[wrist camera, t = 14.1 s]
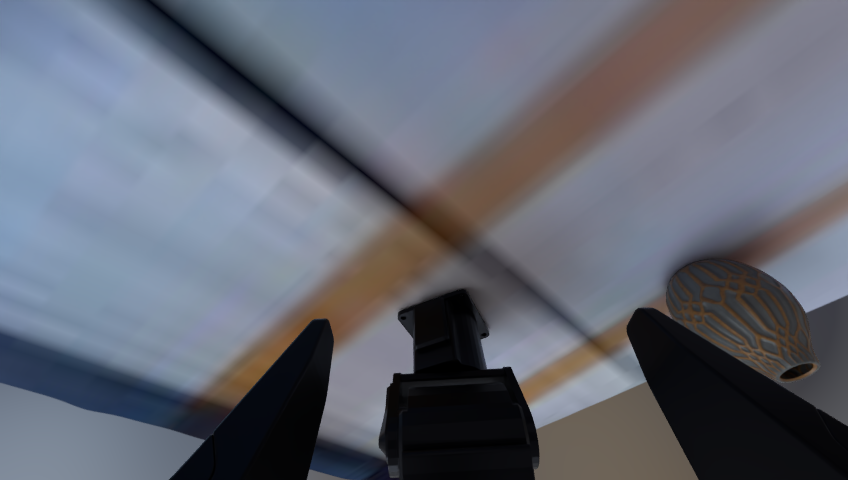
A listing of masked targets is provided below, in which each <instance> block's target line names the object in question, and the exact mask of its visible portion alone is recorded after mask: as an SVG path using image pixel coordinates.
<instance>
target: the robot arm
mask: <svg viewBox="0 0 848 480" xmlns="http://www.w3.org/2000/svg"><path fill="white" fill-rule="evenodd" d="M460 295H463V296H460ZM398 320H399V321H400V322H401V324H402V325H403V326H404V327H405V329H406V330H407V331H408V333H409V334H410V335H411V336H412V338H413V355H414V373H413V374H401V373H394V375H393V383H390V386H389V387H388V388H387V395H386V408H385V414H384V418H383V423H382V427H381V431H380V436H379V448H380V449H381V451H382V452H383V453H384V454H385V455H386V462H387V464H388V469H389V476H390V478H395V477H399V479H400V480H535V477H534V469H537V468H538V466H539V445H538V438H537V433H536V428H535V424H534V421H533V417H532V414H531V412H530V409H529V407H528V405H527V403H526V400H525V398H524V396H523V394H522V391H521V389H520V387H519V385H518V382H517V380H516V378H515V376H514V373H513V371H512V369H511V367H503V368H501V369H487V367H486V362H485V358H484V353H483V349H482V344H481V340H480V339H483V338H486V337H488V336H489V331H488V328H487V327H486V325H485V323H484V321H483V319H482V318H481V316H480V314H479V312H478V310H477V309H476V307H475V305H474V303H473V301H472V300H471V298H470V296H469V294H468V292H467V291H466V290H464V289H461V290H457V291H455V292H452V293H449V294H446V295H444V296H441V297H438V298H435V299H433V300H430V301H427V302H424V303H422V304H419V305H416V306H413V307H411V308H408V309H405V310H402V311H400V312H399V313H398ZM627 335H628V337H629V340H630V342H631V344H632V347H633V349H634V352H635V354H636V356H637V359H638V361H639V364H640V366H641V369H642V371H643V373H644V376H645V378H646V380H647V383H648V385H649V387H650V389H651V390H652V393H653V394H654V396H655V398H656V400H657V402H658V404H659V406H660V408H661V410H662V411H663V413H664V415H665V417H666V419H667V421H668V423H669V425H670V426H671V428H672V430H673V432H674V434H675V436H676V438H677V440H678V441H679V443H680V445H681V447H682V449H683V451H684V453H685V455H686V457H687V458H688V460H689V462H690V464H691V466H692V468H693V470H694V471H695V473H696V475H697V477H698V479H699V480H848V426H846V425H844V424H843V423H841V422H840V421H838V420H836V419H835V418H833V417H832V416H830V415H828V414H827V413H825V412H823V411H822V410H820V409H816V407H814V406H813V405H812V404H810V403H809V402H807V401H805V400H804V399H802V398H800V397H799V396H797V395H795V394H794V393H792V392H790V391H789V390H787V389H786V388H784V387H782V386H781V385H779V384H777V383H776V382H774V381H773V380H771V379H769V378H768V377H766V376H764V375H763V374H761V373H759V372H758V371H756V370H755V369H753V368H751V367H750V366H748V365H746V364H745V363H743V362H741V361H740V360H738V359H737V358H735V357H733V356H732V355H730V354H728V353H727V352H725V351H724V350H722V349H720V348H719V347H717V346H715V345H714V344H712V343H710V342H709V341H707V340H706V339H704V338H702V337H701V336H699V335H697V334H696V333H694V332H692V331H691V330H689V329H688V328H686V327H684V326H683V325H681V324H679V323H678V322H676V321H674V320H673V319H671V318H670V317H668V316H666V315H665V314H663V313H661V312H660V311H658V310H656V309H654V308H638V309H636V310H635V312H634V314H633V316H632V317H631V319H630V321H629V323H628V325H627ZM333 345H334V338H333V334H332V330H331V326H330V323H329V320H328V319H314V320H312V321H311V322H310V323H309V324H308V325H307V327H306V328H305V329H304V330H303V331H302V332H301V333H300V334H299V336H298V337H297V338H296V339H295V340H294V341H293V342H292V343H291V345H290V346H289V347H288V348H287V349H286V350H285V351H284V352H283V354H282V355H281V356H280V357H279V358H278V359H277V360H276V361H275V363H274V364H273V365H272V366H271V367H270V368H269V369H268V370H267V372H266V373H265V374H264V375H263V376H262V377H261V378H260V379H259V381H258V382H257V383H256V384H255V385H254V386H253V387H252V388H251V390H250V391H249V392H248V393H247V394H246V395H245V396H244V397H243V399H242V400H241V401H240V402H239V403H238V404H237V405H236V406H235V408H234V409H233V410H232V411H231V412H230V413H229V414H228V415H227V417H226V418H225V419H224V420H223V421H222V422H221V423H220V424H219V426H218V427H217V428H216V429H215V430H214V431H213V434H211V435H210V436H209V437H208V438H207V439H206V440H205V441H204V442H203V443H202V445H201V446H200V447H199V448H198V449H197V450H196V451H195V452H194V454H193V455H192V456H191V457H190V458H189V459H188V460H187V461H186V462H185V463H184V464H183V465H182V466H181V468H180V469H179V470H178V471H177V472H176V473H175V474H174V475H173V476H172V477H171V478H170V479H169V480H307V476H308V472H309V468H310V464H311V460H312V456H313V451H314V447H315V443H316V439H317V435H318V431H319V427H320V423H321V419H322V415H323V410H324V406H325V402H326V397H327V391H328V383H329V376H330V368H331V360H332V353H333Z"/></svg>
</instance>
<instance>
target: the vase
mask: <svg viewBox="0 0 848 480" xmlns="http://www.w3.org/2000/svg"><path fill="white" fill-rule="evenodd" d="M666 303H667V307H668V310H669V312H670V315H671V317H672V319H673V320H674V321H676V322H678V323H679V324H681V325H683V326H684V327H686V328H688V329H689V330H691V331H692V332H694V333H696V334H697V335H699V336H701V337H702V338H704V339H706V340H707V341H709V342H710V343H712V344H714V345H715V346H717V347H719V348H720V349H722V350H724V351H725V352H727V353H728V354H730V355H732V356H733V357H735V358H737V359H738V360H740V361H741V362H743V363H745V364H746V365H748V366H750V367H751V368H753V369H755V370H756V371H758V372H759V373H762V374H764V375H766V376H768V377H770V378H771V379H773V380H775V381H778V382H780V383H790V382H795V381H799V380H802V379H804V378H807V377H809V376H810V375H812V374H814V373H815V372H816V371H817V370H818V369H819V368H820V362H819V360H818V358H817V357H816V355H815V353H814V351H813V348H812V343H811V335H810V329H809V323H808V318H807V315H806V313H805V311H804V309H803V307H802V306H801V304H800V303H799V302H798V300H797V299H796V298H795V296H794V295H793V294H792V293H791V292H790V291H789V290H788V289H787V288H786V287H785V286H784V285H782V284H781V283H780V282H778V281H777V280H776V279H774V278H773V277H771V276H770V275H768V274H766V273H765V272H763V271H761V270H759V269H757V268H754V267H752V266H749V265H747V264H744V263H740V262H737V261H732V260H723V259H712V260H702V261H698V262H694V263H692V264H689V265H687V266H685V267H684V268H682V269H681V270H679V271H678V272H677V273H676V274H675V275H674V276H673V277H672V279H671V280H670V282H669V285H668V288H667V292H666Z"/></svg>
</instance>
